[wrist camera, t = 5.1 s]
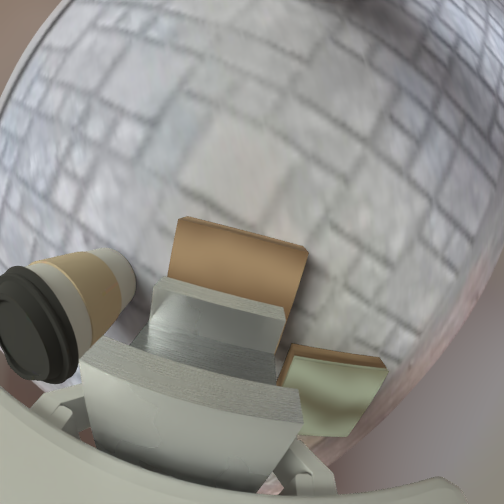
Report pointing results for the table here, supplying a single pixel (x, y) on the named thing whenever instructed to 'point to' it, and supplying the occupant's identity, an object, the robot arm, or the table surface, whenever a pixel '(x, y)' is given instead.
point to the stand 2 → (331, 387)
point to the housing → (195, 390)
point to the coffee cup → (61, 310)
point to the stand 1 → (237, 262)
